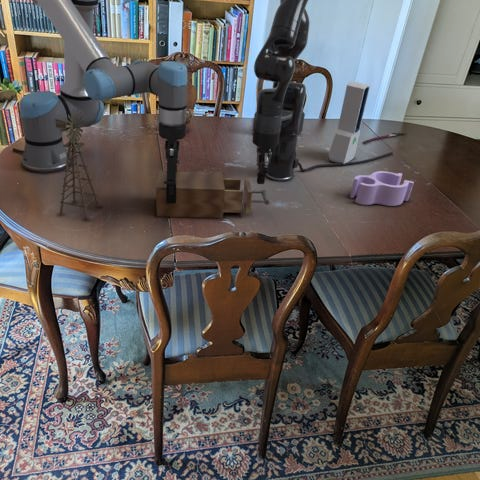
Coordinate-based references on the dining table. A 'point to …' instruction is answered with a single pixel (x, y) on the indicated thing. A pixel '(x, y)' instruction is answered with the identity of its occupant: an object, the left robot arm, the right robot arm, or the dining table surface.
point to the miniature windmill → (73, 142)
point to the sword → (383, 137)
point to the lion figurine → (189, 116)
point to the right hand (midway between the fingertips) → (260, 182)
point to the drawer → (240, 196)
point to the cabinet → (192, 195)
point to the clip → (381, 189)
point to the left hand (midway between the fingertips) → (171, 193)
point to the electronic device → (349, 123)
